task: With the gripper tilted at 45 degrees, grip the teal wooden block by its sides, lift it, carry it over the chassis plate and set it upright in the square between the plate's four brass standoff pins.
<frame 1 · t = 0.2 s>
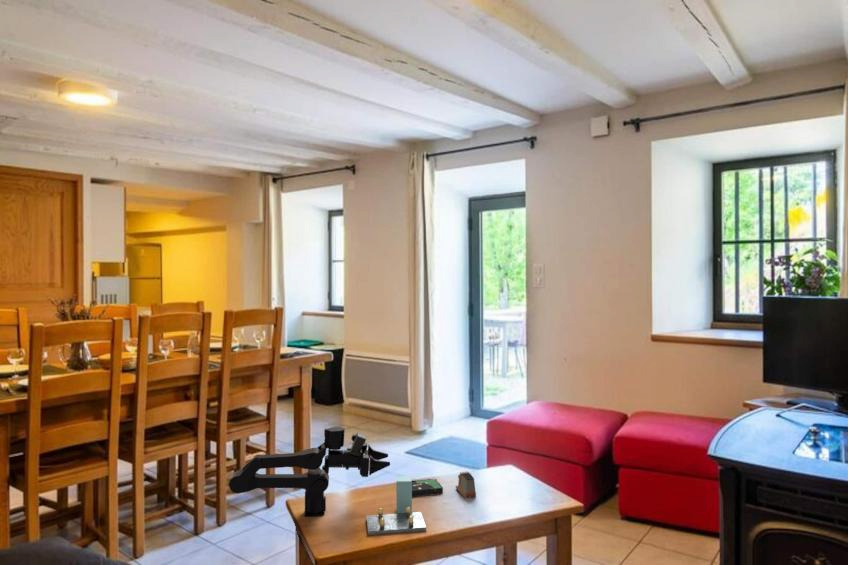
hand: (389, 459, 198), 17 cm above the table, tool horizontal, fingers open, 9 cm apart
chassis: (395, 525, 184), on the table
teal block: (404, 511, 195), on the table
electronic device: (465, 493, 211), on the table
disk drive: (420, 492, 214), on the table
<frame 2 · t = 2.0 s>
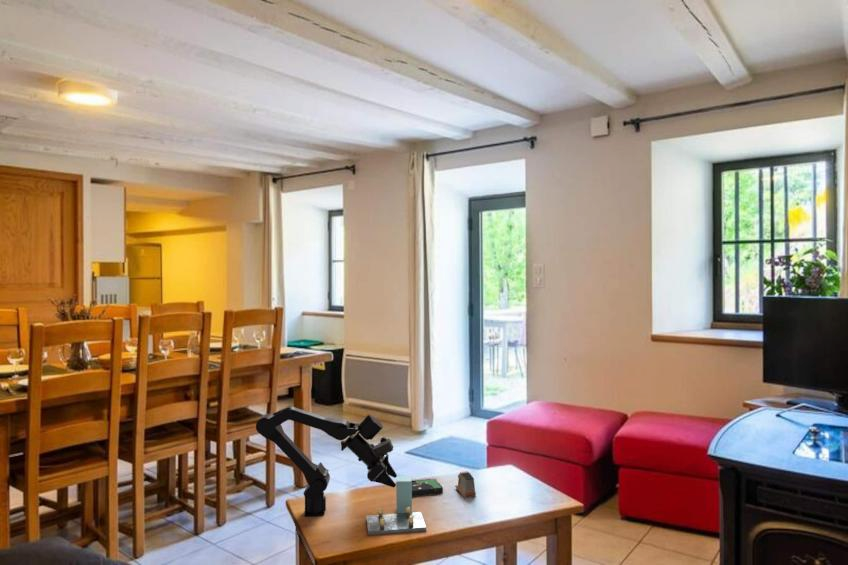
hand: (395, 481, 195), 10 cm above the table, tool tilted 45°, fingers open, 9 cm apart
nothing on the table moved.
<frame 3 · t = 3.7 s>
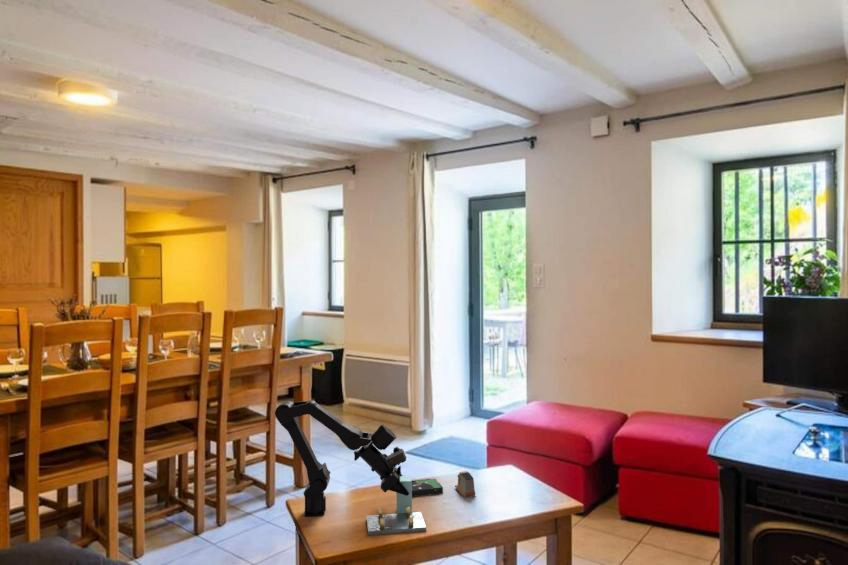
hand: (408, 491, 195), 7 cm above the table, tool tilted 45°, fingers closed on teal block, 5 cm apart
teal block: (404, 511, 195), on the table, touching gripper
everything else where it was.
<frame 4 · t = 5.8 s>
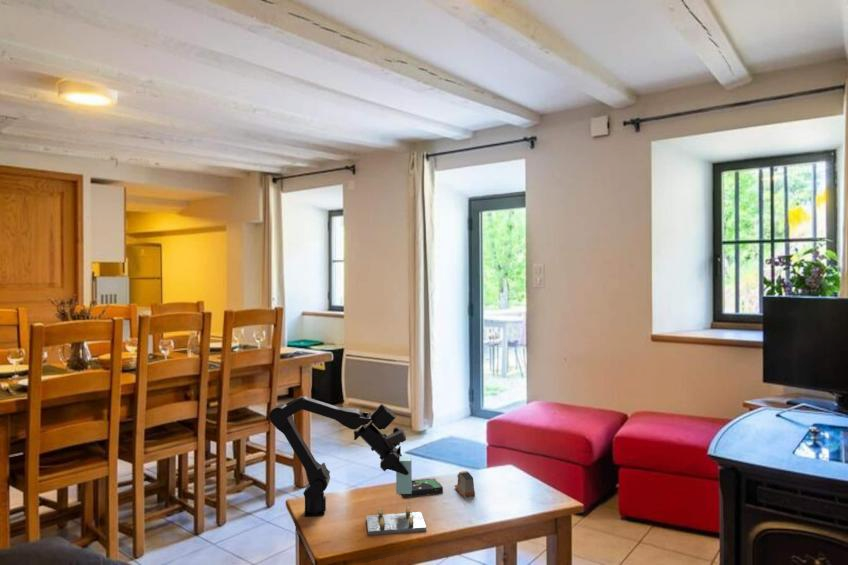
hand: (408, 471, 194), 14 cm above the table, tool tilted 45°, fingers closed on teal block, 5 cm apart
teal block: (404, 491, 194), point 7 cm above the table, touching gripper
everything else where it was.
when the fingers open (9 cm above the table, at t = 8.2 s): teal block drops 1 cm, resting on chassis.
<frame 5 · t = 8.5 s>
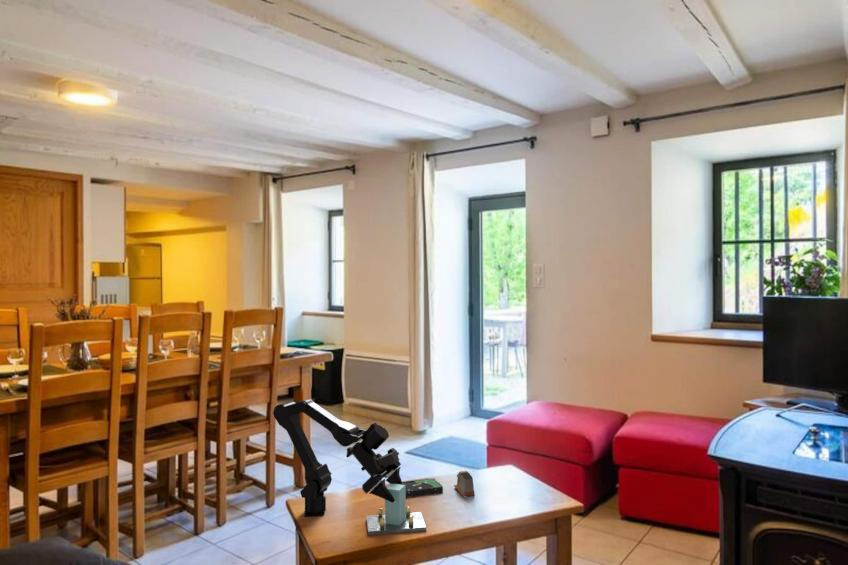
hand: (399, 496, 183), 9 cm above the table, tool tilted 45°, fingers open, 8 cm apart
teal block: (395, 521, 184), point 1 cm above the table, touching chassis
everything else where it was.
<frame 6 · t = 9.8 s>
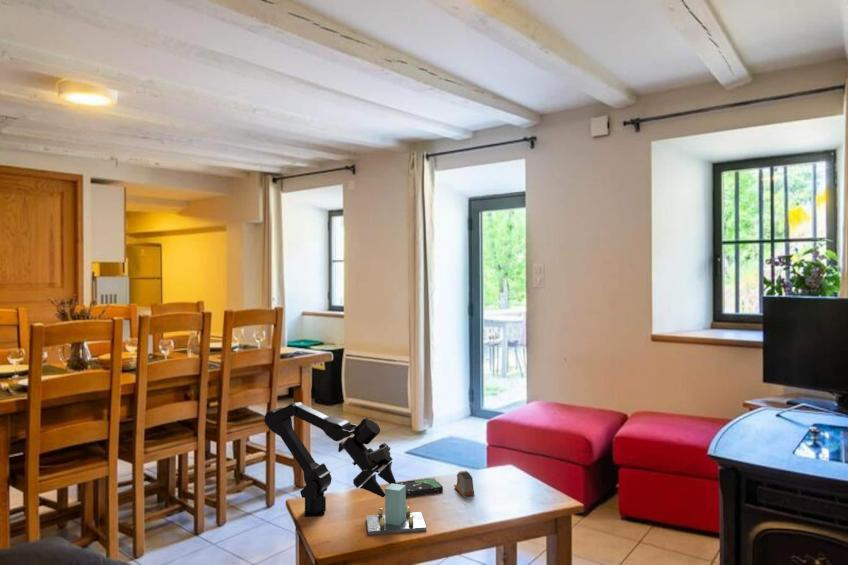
hand: (390, 491, 184), 11 cm above the table, tool tilted 45°, fingers open, 9 cm apart
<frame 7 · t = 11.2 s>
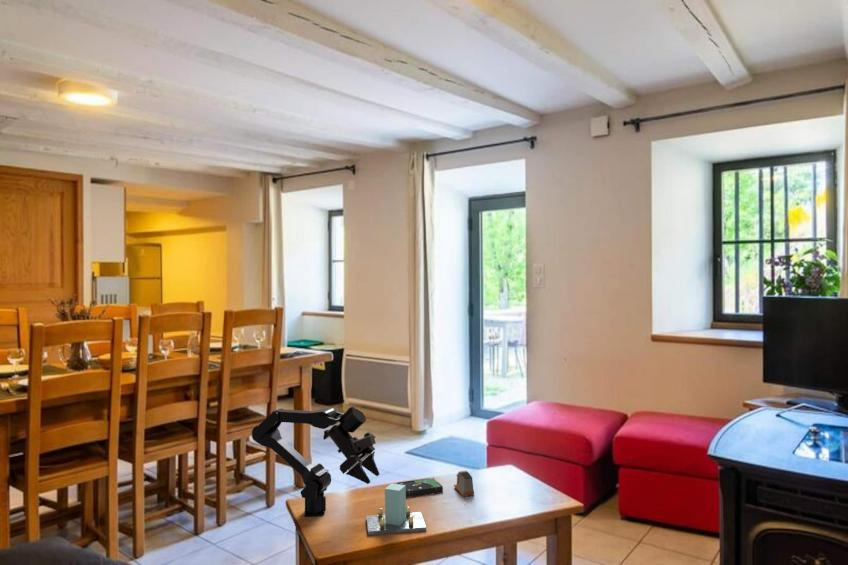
hand: (374, 479, 187), 13 cm above the table, tool tilted 40°, fingers open, 9 cm apart
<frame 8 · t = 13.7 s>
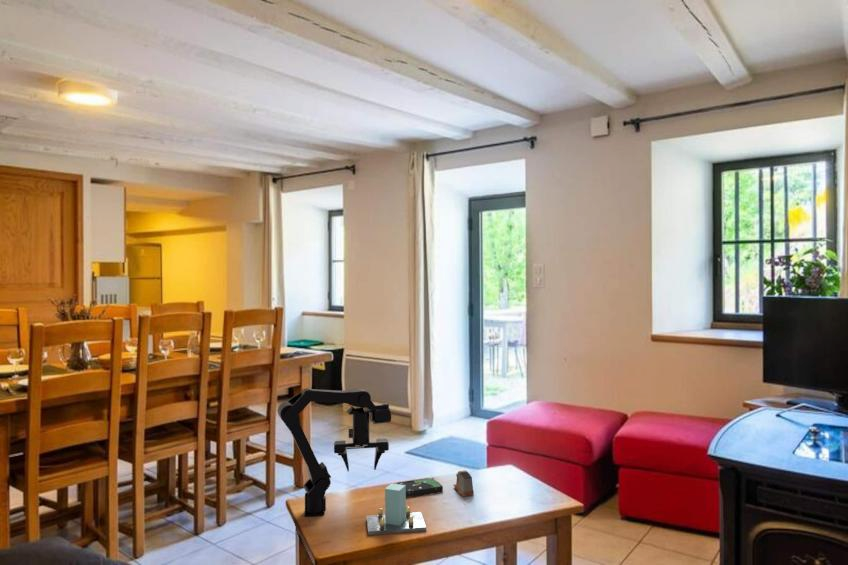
hand: (361, 470, 200), 12 cm above the table, tool pointing down, fingers open, 9 cm apart
at the end: teal block 0.0 cm off-centre on the chassis, point 1.2 cm above the chassis's base; teal block tilted 0°; the gripper is holding nothing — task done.
